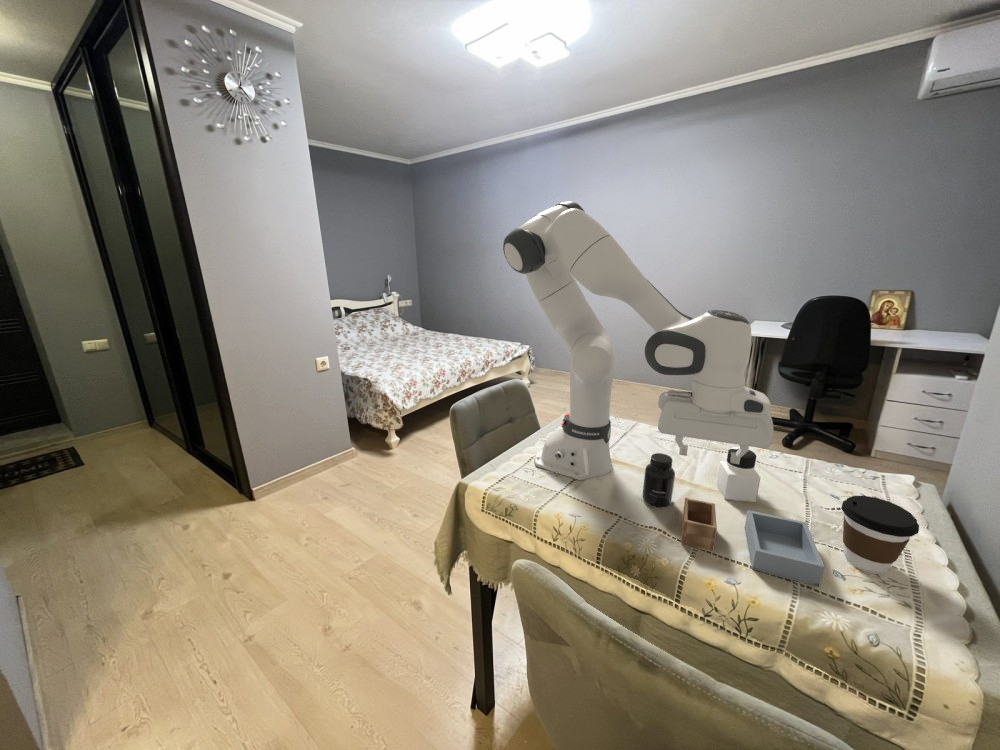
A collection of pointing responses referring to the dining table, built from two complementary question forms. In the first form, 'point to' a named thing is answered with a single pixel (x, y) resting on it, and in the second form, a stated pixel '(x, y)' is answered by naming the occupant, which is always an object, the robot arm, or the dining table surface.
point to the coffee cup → (875, 532)
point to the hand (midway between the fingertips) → (708, 458)
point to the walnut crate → (699, 524)
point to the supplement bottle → (659, 481)
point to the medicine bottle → (739, 477)
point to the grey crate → (783, 548)
